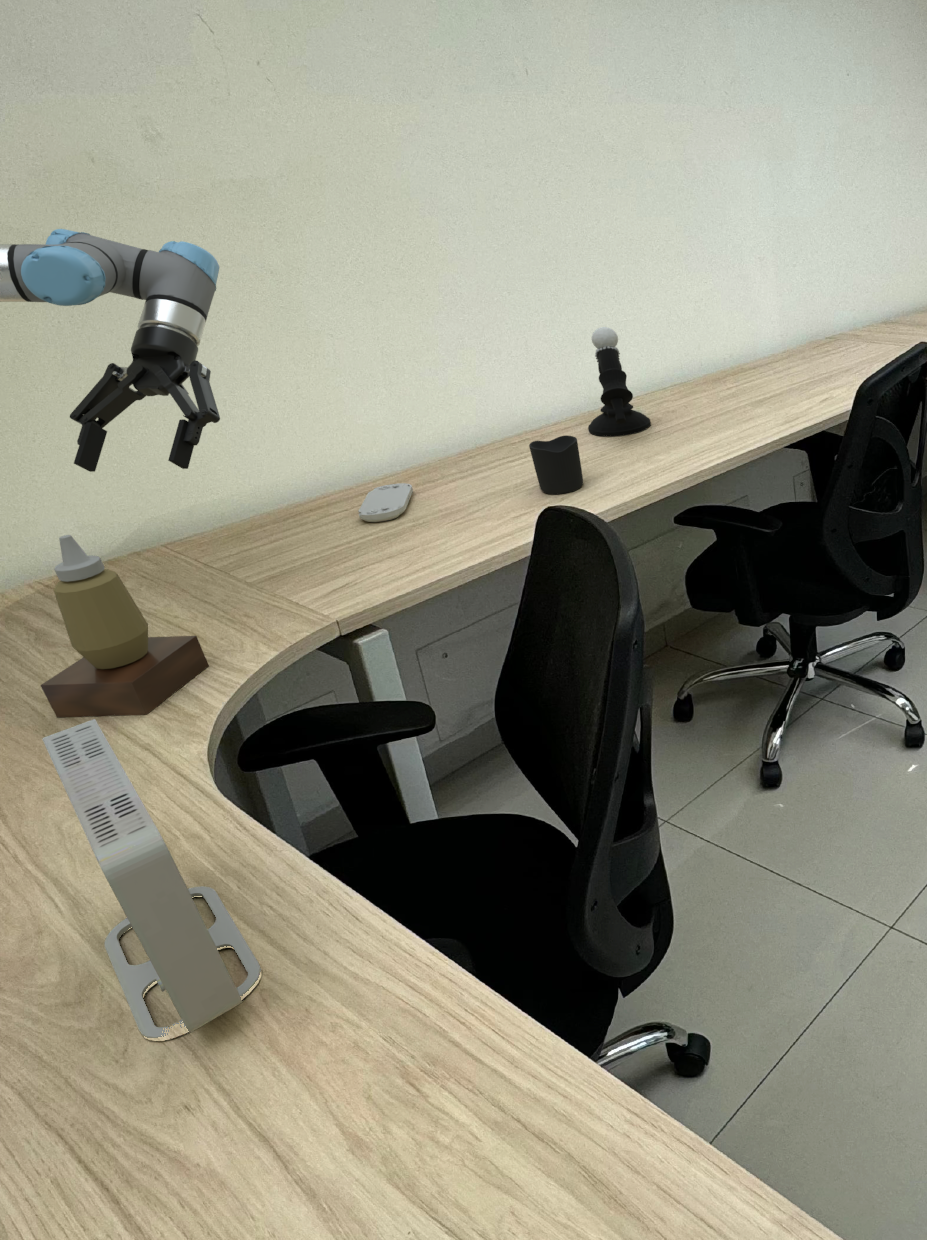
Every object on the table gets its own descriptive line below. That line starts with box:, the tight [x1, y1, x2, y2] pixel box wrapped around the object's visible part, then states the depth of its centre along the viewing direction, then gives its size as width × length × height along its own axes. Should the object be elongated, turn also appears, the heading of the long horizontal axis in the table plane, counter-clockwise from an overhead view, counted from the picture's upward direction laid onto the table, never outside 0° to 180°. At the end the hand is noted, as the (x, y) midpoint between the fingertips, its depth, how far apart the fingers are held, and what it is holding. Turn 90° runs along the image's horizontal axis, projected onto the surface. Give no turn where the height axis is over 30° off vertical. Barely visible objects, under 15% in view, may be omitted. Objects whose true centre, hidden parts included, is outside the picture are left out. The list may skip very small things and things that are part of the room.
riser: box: [40, 635, 210, 718], centre depth 123 cm, size 12×12×5 cm
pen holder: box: [528, 435, 584, 495], centre depth 189 cm, size 9×9×10 cm
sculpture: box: [587, 326, 652, 437], centre depth 221 cm, size 15×24×25 cm, turn 20°
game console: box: [357, 482, 414, 523], centre depth 184 cm, size 18×2×8 cm
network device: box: [41, 718, 262, 1038], centre depth 78 cm, size 26×9×20 cm, turn 48°
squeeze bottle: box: [53, 534, 149, 669], centre depth 118 cm, size 8×8×18 cm
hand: (131, 466), depth 129 cm, fingers open, 13 cm apart
